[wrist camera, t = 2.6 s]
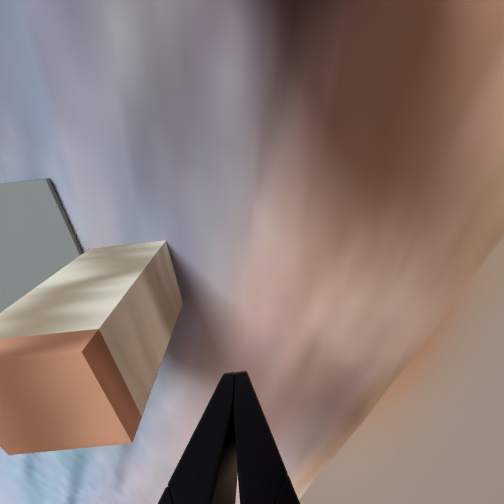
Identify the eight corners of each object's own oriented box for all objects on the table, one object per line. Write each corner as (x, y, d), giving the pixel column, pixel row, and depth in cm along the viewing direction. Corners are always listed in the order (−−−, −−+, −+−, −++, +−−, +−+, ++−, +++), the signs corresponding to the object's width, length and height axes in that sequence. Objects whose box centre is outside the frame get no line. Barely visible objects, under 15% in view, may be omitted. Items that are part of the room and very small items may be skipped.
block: (165, 240, 16) (81, 351, 7) (183, 303, 18) (132, 443, 10) (89, 248, 16) (-77, 368, 8) (115, 310, 18) (8, 455, 10)
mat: (49, 178, 14) (45, 179, 13) (128, 355, 20) (126, 358, 19) (-173, 203, 14) (-182, 204, 14) (-28, 371, 20) (-32, 374, 20)
